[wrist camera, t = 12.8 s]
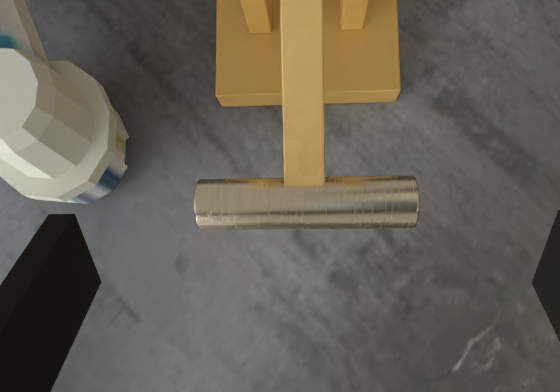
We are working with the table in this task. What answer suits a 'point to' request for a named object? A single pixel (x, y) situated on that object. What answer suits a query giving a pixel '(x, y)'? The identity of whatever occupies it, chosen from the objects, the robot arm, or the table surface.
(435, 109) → the table surface
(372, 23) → the yellow lever stand
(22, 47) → the white handheld electric wand
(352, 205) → the tap lever
